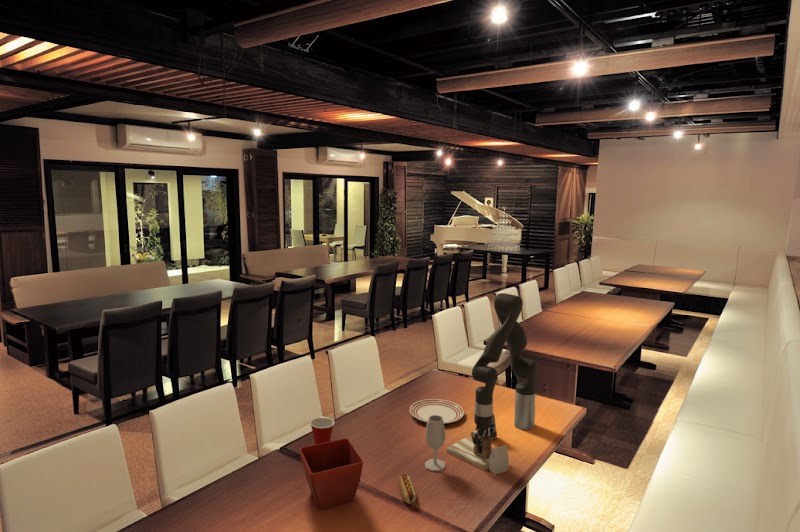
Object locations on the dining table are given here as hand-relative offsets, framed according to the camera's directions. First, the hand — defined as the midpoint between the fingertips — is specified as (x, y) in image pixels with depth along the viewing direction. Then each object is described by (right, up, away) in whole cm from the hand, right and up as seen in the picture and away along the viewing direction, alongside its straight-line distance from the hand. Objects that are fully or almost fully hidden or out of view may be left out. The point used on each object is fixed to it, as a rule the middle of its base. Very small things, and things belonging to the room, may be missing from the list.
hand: (482, 450), depth 206 cm
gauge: (0, -2, 0) cm, 2 cm away
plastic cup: (-69, -3, +11) cm, 70 cm away
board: (-2, -4, +5) cm, 6 cm away
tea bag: (+5, -6, -7) cm, 10 cm away
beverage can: (+6, -2, +20) cm, 21 cm away
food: (-32, -8, -23) cm, 40 cm away
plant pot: (-60, -8, -25) cm, 66 cm away
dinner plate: (-16, +1, +43) cm, 46 cm away
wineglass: (-20, -5, -4) cm, 21 cm away
